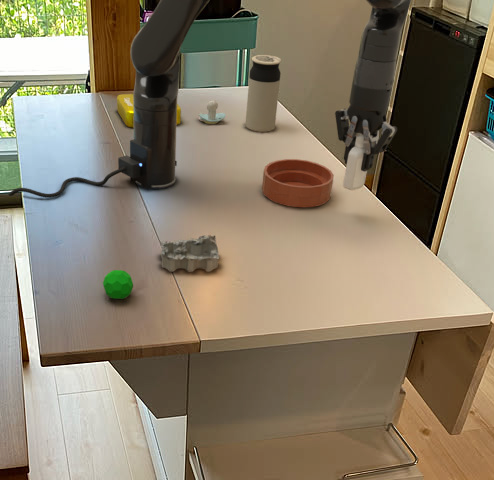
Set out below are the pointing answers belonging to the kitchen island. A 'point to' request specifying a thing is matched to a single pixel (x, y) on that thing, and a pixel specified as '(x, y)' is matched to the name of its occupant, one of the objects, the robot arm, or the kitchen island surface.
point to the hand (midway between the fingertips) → (357, 166)
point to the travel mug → (263, 93)
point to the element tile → (128, 112)
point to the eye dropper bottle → (355, 166)
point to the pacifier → (212, 114)
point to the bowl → (297, 183)
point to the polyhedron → (118, 284)
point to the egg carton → (190, 254)
